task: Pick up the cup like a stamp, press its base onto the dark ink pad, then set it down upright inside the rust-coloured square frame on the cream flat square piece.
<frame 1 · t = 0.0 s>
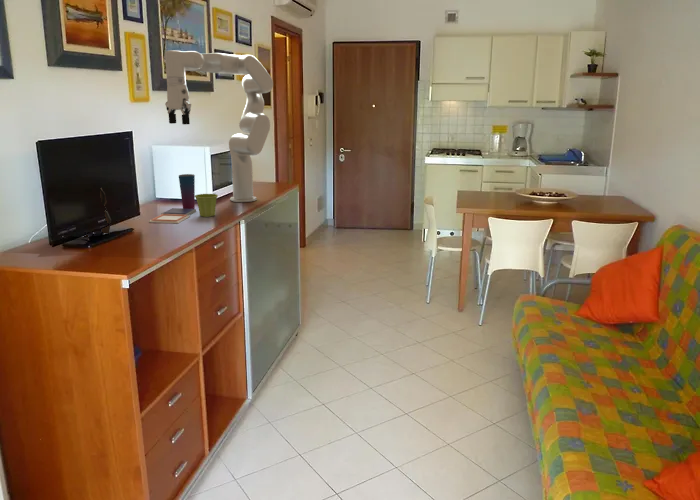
hand: (179, 123, 240), 37 cm above the sideboard top, tool pointing down, fingers open, 9 cm apart
owl: (92, 234, 206), on the sideboard top
plant pot: (207, 216, 239), on the sideboard top
cup: (188, 209, 252), on the sideboard top
ink pad: (179, 213, 242), on the sideboard top
cream flat square piece: (169, 219, 230), on the sideboard top
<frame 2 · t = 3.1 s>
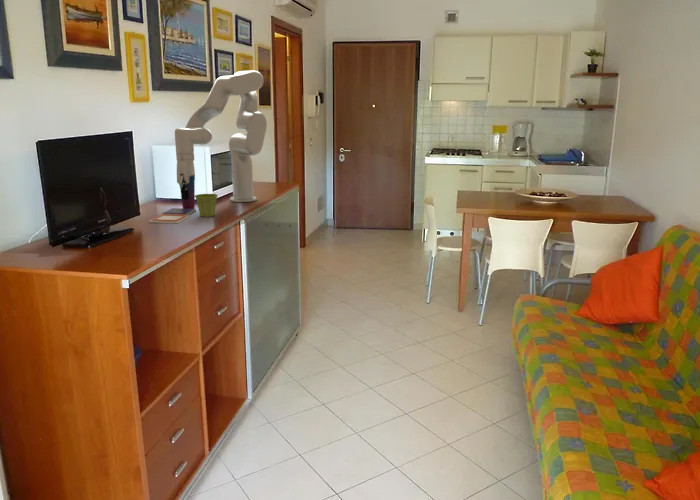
hand: (188, 197, 251), 5 cm above the sideboard top, tool pointing down, fingers closed on cup, 6 cm apart
cup: (188, 209, 252), on the sideboard top, touching gripper
everything else where it was.
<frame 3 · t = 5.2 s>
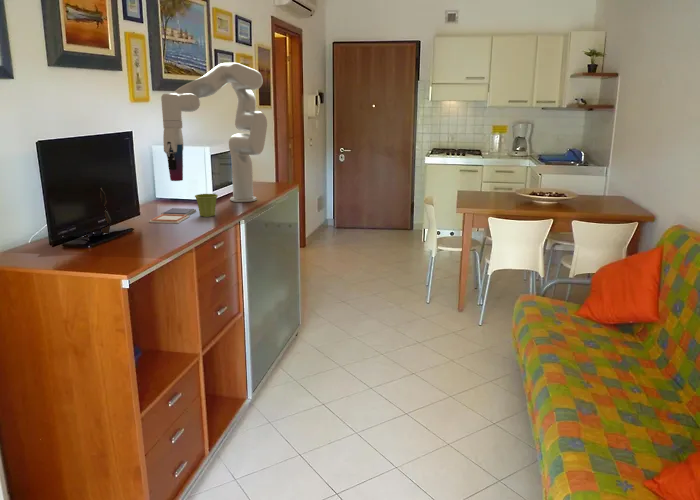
hand: (175, 168, 237), 19 cm above the sideboard top, tool pointing down, fingers closed on cup, 6 cm apart
cup: (176, 180, 238), point 14 cm above the sideboard top, touching gripper
everything else where it was.
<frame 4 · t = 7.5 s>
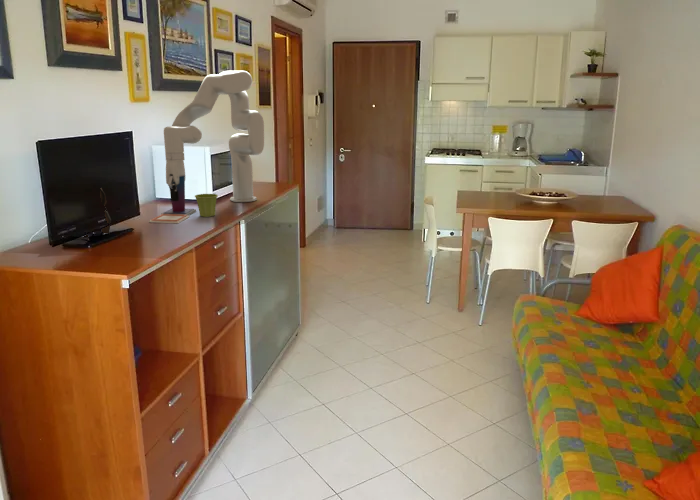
hand: (178, 198, 240), 6 cm above the sideboard top, tool pointing down, fingers closed on cup, 6 cm apart
cup: (178, 211, 242), point 1 cm above the sideboard top, touching gripper, ink pad
everything else where it was.
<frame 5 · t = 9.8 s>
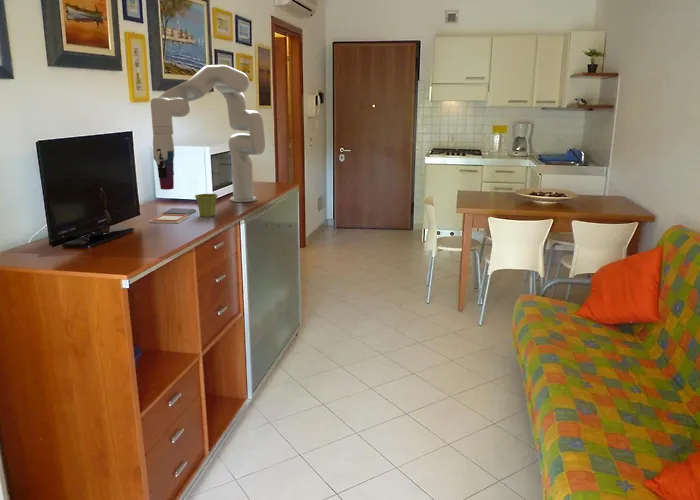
hand: (166, 176, 225), 18 cm above the sideboard top, tool pointing down, fingers closed on cup, 6 cm apart
cup: (167, 189, 227), point 13 cm above the sideboard top, touching gripper
everything else where it was.
when the fingers open (7 cm above the sideboard top, at t = 11.8 s): cup drops 1 cm, resting on cream flat square piece.
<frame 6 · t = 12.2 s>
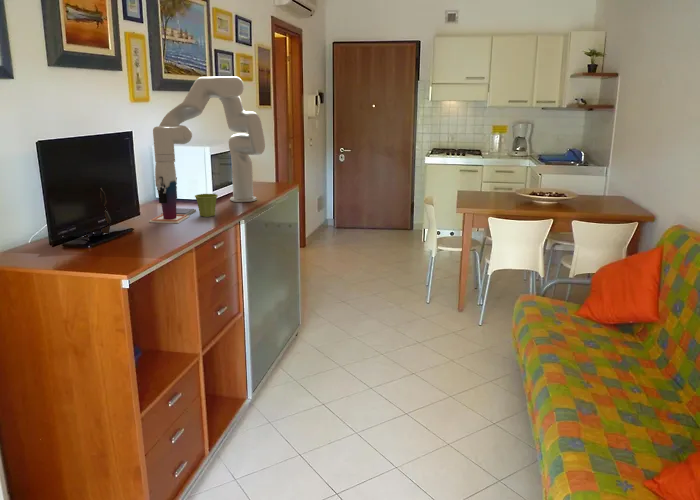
hand: (168, 200, 228), 8 cm above the sideboard top, tool pointing down, fingers open, 9 cm apart
cup: (170, 218, 230), resting on cream flat square piece
everything else where it was.
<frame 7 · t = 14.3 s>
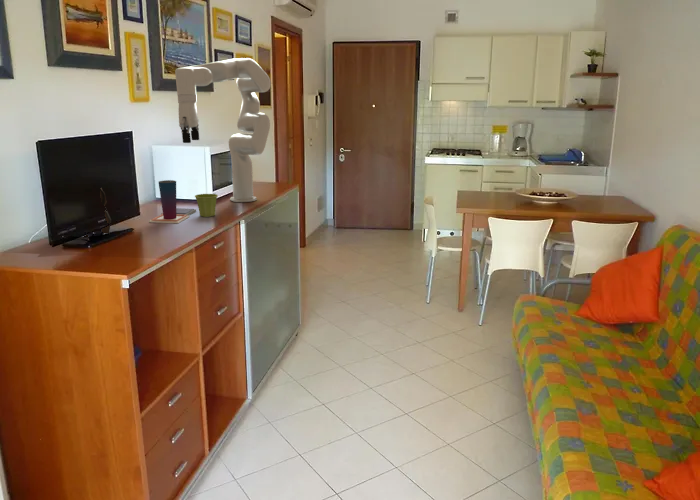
hand: (191, 141, 237), 30 cm above the sideboard top, tool pointing down, fingers open, 9 cm apart
nothing on the sideboard top moved.
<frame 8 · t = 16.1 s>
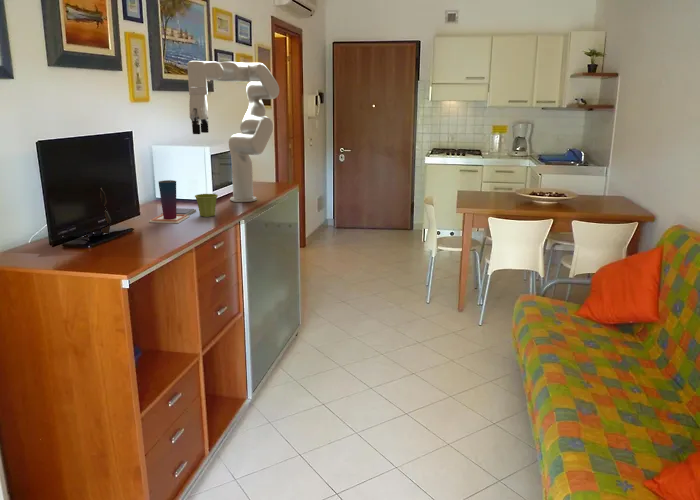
hand: (200, 133, 242), 33 cm above the sideboard top, tool pointing down, fingers open, 9 cm apart
nothing on the sideboard top moved.
at the end: cup 0.3 cm off-centre on the cream flat square piece, point 0.4 cm above the cream flat square piece's base; cup tilted 0°; the gripper is holding nothing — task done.
